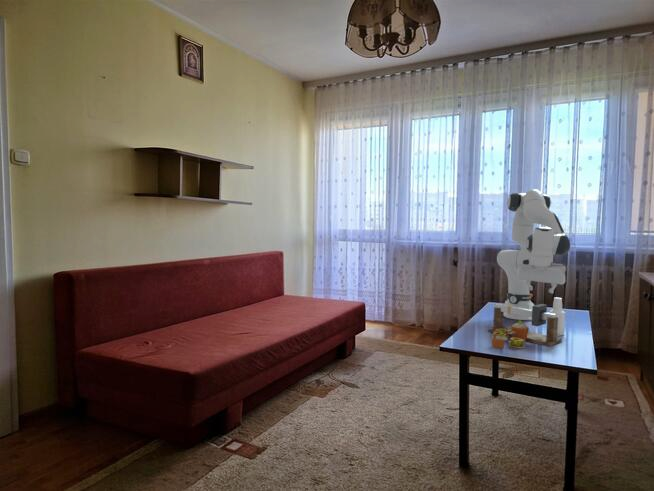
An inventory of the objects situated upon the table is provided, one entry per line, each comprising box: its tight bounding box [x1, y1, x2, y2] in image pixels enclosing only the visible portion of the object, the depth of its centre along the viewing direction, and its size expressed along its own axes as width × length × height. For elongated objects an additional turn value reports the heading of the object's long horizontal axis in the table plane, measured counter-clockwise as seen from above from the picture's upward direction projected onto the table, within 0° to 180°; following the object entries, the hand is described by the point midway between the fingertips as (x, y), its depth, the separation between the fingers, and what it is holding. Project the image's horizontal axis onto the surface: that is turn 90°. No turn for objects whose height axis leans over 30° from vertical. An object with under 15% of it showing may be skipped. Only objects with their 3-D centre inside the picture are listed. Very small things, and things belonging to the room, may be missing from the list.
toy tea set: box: [491, 320, 530, 349], centre depth 192 cm, size 26×16×10 cm, turn 152°
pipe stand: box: [487, 303, 563, 348], centre depth 202 cm, size 30×12×14 cm, turn 38°
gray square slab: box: [531, 303, 548, 327], centre depth 196 cm, size 2×9×9 cm, turn 128°
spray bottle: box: [548, 296, 566, 336], centre depth 208 cm, size 7×7×18 cm
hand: (540, 291), depth 195 cm, fingers open, 8 cm apart
